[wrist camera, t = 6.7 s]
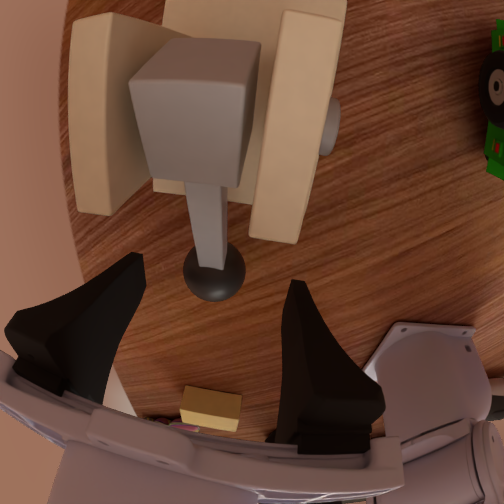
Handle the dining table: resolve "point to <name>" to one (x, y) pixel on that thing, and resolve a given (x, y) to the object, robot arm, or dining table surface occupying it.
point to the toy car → (494, 102)
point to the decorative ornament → (176, 423)
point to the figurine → (496, 399)
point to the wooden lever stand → (265, 113)
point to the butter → (210, 408)
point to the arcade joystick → (201, 142)
